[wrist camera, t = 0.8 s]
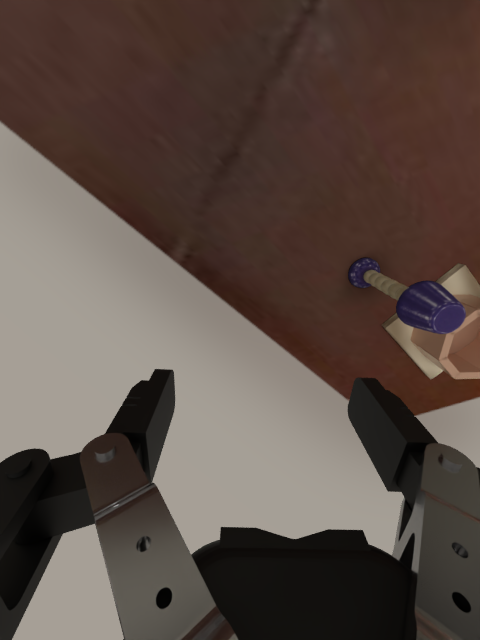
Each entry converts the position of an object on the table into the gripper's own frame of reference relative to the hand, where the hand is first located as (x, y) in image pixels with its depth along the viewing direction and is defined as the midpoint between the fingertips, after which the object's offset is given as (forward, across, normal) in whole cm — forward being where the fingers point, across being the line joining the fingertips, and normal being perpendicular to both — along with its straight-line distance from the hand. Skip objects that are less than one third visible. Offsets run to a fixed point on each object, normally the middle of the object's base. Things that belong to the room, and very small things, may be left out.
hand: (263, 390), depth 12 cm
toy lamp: (+28, -16, 0) cm, 32 cm away
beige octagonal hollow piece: (+26, -30, +7) cm, 41 cm away
